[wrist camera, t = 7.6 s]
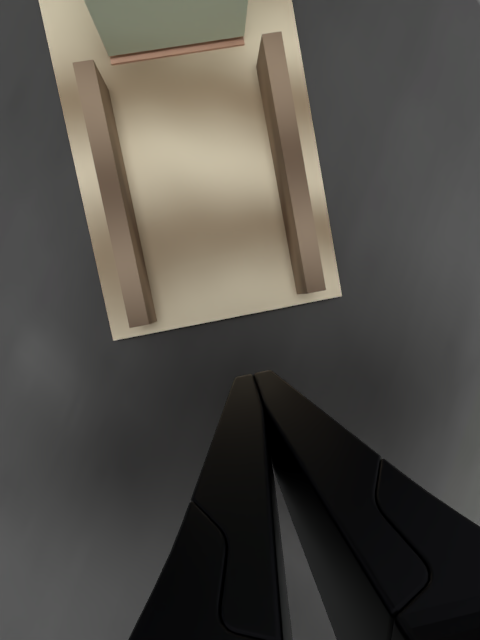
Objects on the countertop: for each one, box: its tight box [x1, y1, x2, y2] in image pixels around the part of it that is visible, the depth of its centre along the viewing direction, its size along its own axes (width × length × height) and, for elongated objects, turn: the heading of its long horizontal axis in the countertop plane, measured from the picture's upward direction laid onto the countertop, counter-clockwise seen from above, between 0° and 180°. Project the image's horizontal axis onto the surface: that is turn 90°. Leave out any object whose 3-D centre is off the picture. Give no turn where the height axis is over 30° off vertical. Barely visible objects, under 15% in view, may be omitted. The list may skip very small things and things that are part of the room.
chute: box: [39, 0, 342, 341], centre depth 15 cm, size 20×11×3 cm, turn 11°
